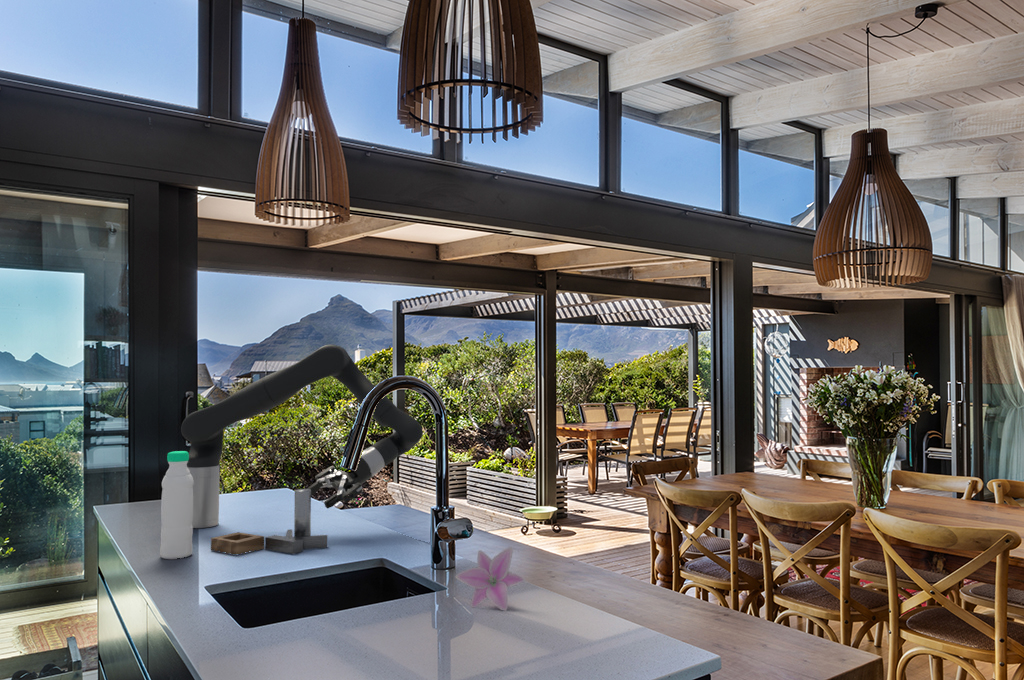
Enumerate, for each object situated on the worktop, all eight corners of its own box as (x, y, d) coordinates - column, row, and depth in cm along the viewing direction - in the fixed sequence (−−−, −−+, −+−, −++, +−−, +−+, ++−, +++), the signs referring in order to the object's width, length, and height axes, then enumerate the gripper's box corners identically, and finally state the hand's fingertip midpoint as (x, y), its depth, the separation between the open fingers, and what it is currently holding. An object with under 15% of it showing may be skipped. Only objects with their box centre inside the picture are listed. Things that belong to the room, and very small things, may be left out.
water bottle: (169, 561, 169) (171, 453, 171) (154, 557, 174) (156, 452, 175) (198, 555, 175) (199, 451, 176) (182, 551, 179) (184, 449, 181)
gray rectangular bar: (290, 546, 184) (291, 490, 185) (302, 543, 187) (303, 488, 188) (301, 548, 182) (302, 491, 183) (313, 544, 185) (314, 489, 186)
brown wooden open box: (210, 550, 180) (211, 538, 180) (237, 543, 187) (238, 532, 187) (237, 555, 175) (237, 542, 175) (264, 548, 182) (264, 536, 182)
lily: (449, 605, 139) (446, 567, 135) (490, 570, 147) (488, 533, 143) (497, 637, 132) (495, 598, 128) (536, 598, 140) (536, 560, 136)
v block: (259, 548, 182) (259, 536, 182) (290, 540, 190) (290, 529, 190) (299, 555, 174) (299, 542, 175) (329, 547, 183) (329, 535, 183)
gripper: (345, 446, 206) (297, 478, 196) (376, 464, 197) (328, 499, 187) (352, 467, 210) (305, 499, 200) (382, 485, 201) (335, 520, 191)
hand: (316, 499), depth 194 cm, fingers open, 8 cm apart
